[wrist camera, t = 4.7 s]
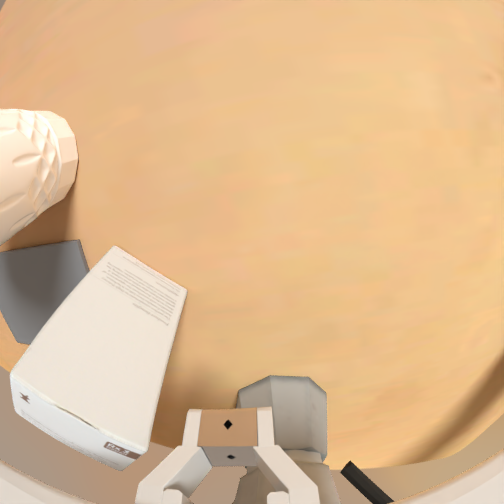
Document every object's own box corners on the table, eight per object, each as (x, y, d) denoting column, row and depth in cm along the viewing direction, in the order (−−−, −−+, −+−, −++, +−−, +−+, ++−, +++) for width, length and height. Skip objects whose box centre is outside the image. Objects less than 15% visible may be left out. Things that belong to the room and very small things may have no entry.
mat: (79, 239, 17) (76, 241, 17) (121, 350, 21) (119, 353, 21) (-20, 255, 18) (-22, 257, 18) (19, 340, 22) (17, 342, 22)
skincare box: (96, 286, 19) (9, 412, 8) (116, 238, 17) (1, 370, 6) (166, 328, 20) (120, 476, 9) (195, 287, 19) (148, 456, 8)
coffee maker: (210, 421, 26) (197, 581, 9) (213, 367, 22) (191, 587, 6) (347, 423, 27) (377, 564, 10) (379, 373, 23) (439, 546, 7)
